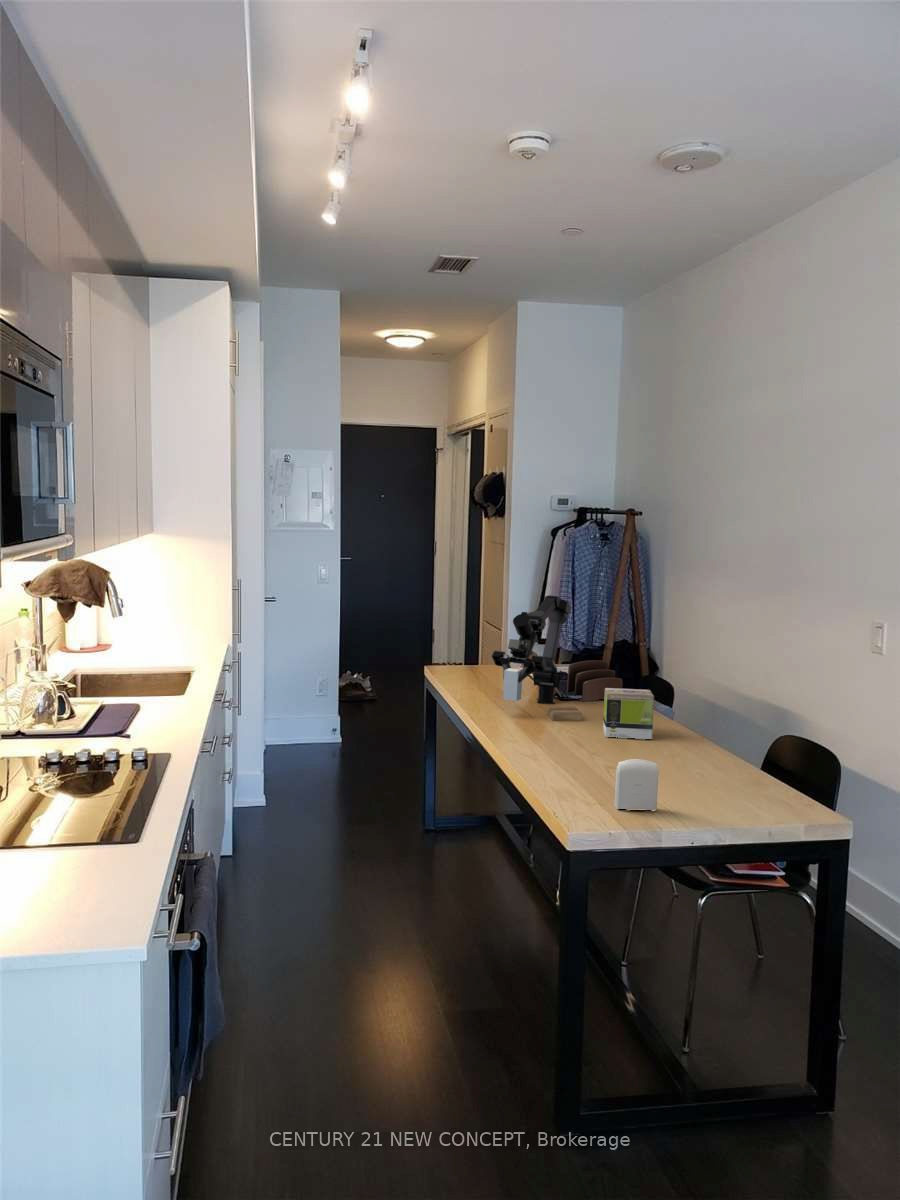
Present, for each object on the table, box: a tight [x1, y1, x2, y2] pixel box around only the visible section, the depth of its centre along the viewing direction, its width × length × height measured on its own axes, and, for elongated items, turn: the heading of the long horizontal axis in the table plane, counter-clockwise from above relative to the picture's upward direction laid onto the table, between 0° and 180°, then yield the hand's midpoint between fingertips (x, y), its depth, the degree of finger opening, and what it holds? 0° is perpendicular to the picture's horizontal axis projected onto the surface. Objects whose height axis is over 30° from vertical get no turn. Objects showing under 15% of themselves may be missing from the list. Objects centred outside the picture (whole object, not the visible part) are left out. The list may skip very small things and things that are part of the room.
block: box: [545, 705, 583, 723], centre depth 308 cm, size 10×10×4 cm
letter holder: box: [566, 659, 623, 703], centre depth 343 cm, size 10×20×14 cm, turn 121°
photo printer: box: [614, 758, 660, 810], centre depth 216 cm, size 10×4×12 cm, turn 88°
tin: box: [502, 667, 523, 702], centre depth 303 cm, size 4×5×10 cm
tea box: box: [602, 688, 655, 740], centre depth 287 cm, size 15×10×15 cm, turn 84°
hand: (511, 680), depth 301 cm, fingers closed on tin, 5 cm apart
